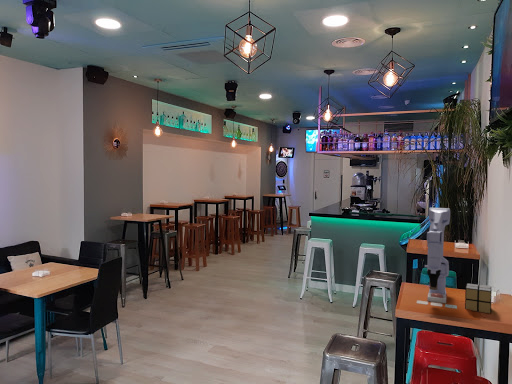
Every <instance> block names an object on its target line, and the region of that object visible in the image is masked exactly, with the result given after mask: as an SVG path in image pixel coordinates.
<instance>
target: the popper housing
mask: <svg viewBox="0 0 512 384" xmlns="http://www.w3.org/2000/svg"><path fill="white" fill-rule="evenodd" d="M431 295H432V293H429V292H428V293H427V300H426V302H433V303H441V304H447V294H446V295H443V294H442V295H443V297H442V298H438V297H431Z"/></svg>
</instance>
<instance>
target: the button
mask: <svg viewBox="0 0 512 384" xmlns="http://www.w3.org/2000/svg"><path fill="white" fill-rule="evenodd" d="M431 297H438V298H442V297H443V295H442V294H440V293H432V295H431Z"/></svg>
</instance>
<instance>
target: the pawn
mask: <svg viewBox="0 0 512 384" xmlns="http://www.w3.org/2000/svg"><path fill="white" fill-rule="evenodd" d="M428 283H429V289H431V290H437V289H438V281H437V286H436V288H435V287H431V285H430V280H429V282H428ZM429 289H428V290H429Z"/></svg>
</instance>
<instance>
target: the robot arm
mask: <svg viewBox="0 0 512 384" xmlns="http://www.w3.org/2000/svg"><path fill="white" fill-rule="evenodd" d="M428 220H429V223H430V225H429V230H428V231H427V232H426V242H427V243H426V246H427V263H426V264H424V268H427V269H426V273H427V276H428V279H429V281H430V285H431V287H435V288H436V286H437V281H438V289H437V290H431V289H428V290H429V291H428V293H440V294H443V295H446V296H447V290H446V284H447V283H446V282H447V281H446V279H447V277H449V274H450V265H449V264H450V262H449V260H447V258H445V257H444V241H445V240H444V239H445V229H446V226H448V225H450V221H451V209H450V208H449V207H447V208H445V207H429V208H428Z"/></svg>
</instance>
